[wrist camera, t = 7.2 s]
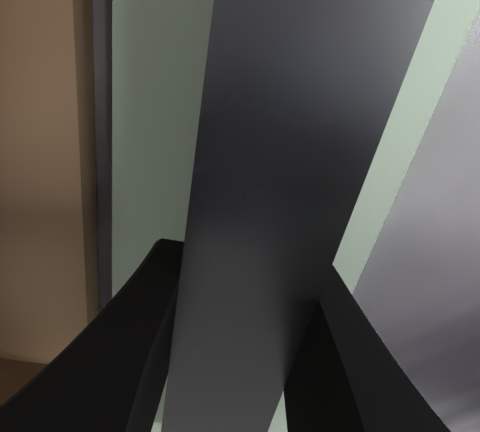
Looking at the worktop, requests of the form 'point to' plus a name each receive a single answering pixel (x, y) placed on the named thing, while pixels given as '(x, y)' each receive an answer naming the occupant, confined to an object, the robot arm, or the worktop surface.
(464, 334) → the worktop surface
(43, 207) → the hook stands
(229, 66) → the rail
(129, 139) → the mat
